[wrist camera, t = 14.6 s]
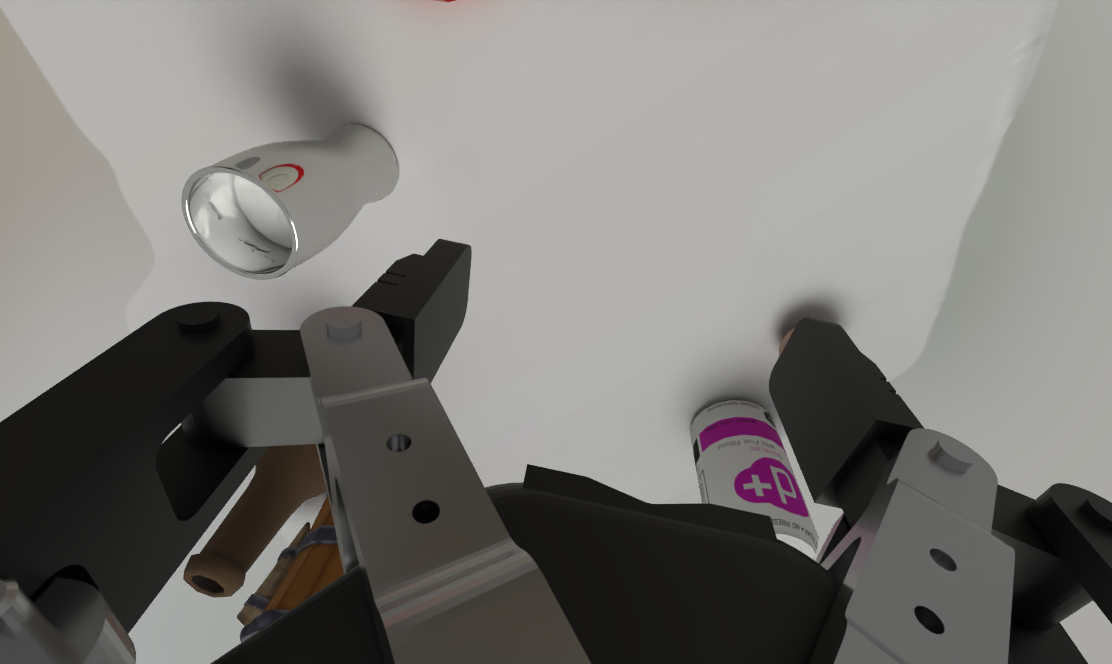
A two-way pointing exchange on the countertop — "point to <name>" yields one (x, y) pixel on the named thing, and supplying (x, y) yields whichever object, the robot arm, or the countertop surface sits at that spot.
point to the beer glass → (286, 199)
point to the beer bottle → (256, 518)
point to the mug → (295, 574)
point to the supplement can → (750, 470)
